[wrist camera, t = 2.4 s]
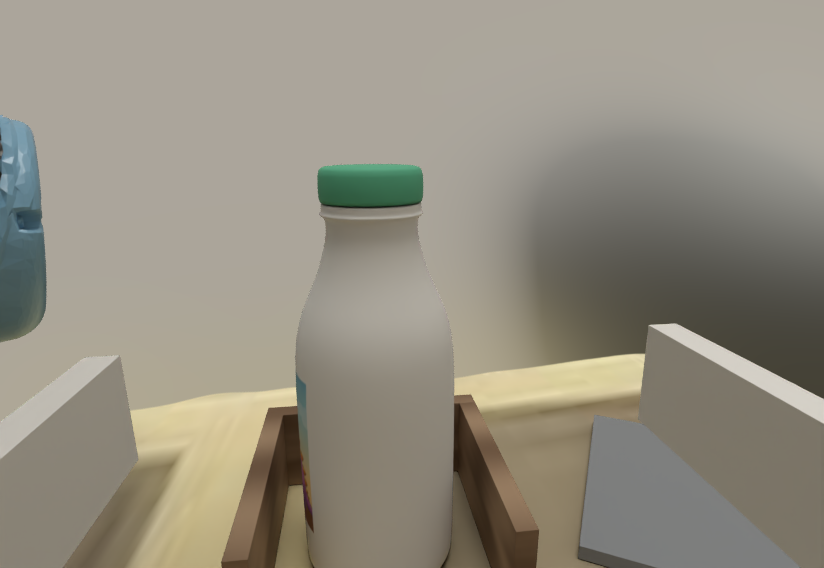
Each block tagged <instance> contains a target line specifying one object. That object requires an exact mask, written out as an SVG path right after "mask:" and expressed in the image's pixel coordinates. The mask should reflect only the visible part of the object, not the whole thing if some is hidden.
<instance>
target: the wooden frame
mask: <svg viewBox="0 0 824 568" xmlns="http://www.w3.org/2000/svg"><path fill="white" fill-rule="evenodd" d="M453 471H458V472H459V475H460V478H461V481H462V484H463V487H464V490H465V493H466V496H467V499H468V502H469V505H470V507H471V510H472V513H473V516H474V519H475V522H476V525H477V528H478V531H479V534H480V537H481V540H482V543H483V545H484V548H485V551H486V554H487V557H488V560H489V563H490V566H491V568H536V562H537V549H538V536H539V529H538V527H537V525H536V523H535V521H534V519H533V517H532V515H531V513H530V511H529V509H528V507H527V505H526V503H525V501H524V499H523V497H522V495H521V493H520V491H519V489H518V487H517V485H516V483H515V481H514V479H513V477H512V475H511V473H510V471H509V469H508V467H507V465H506V463H505V461H504V459H503V457H502V455H501V453H500V451H499V449H498V447H497V445H496V443H495V441H494V439H493V437H492V435H491V433H490V431H489V429H488V427H487V425H486V423H485V421H484V419H483V417H482V415H481V413H480V411H479V409H478V407H477V405H476V404H475V402H474V400H473V398H472V396H471V395H457V396H454V451H453ZM296 484H303V480H302V467H301V453H300V439H299V423H298V408H297V406H292V407H277V408H269V409H268V412H267V415H266V418H265V422H264V425H263V428H262V431H261V435H260V438H259V441H258V444H257V448H256V451H255V454H254V457H253V461H252V464H251V467H250V470H249V474H248V477H247V480H246V483H245V487H244V490H243V493H242V496H241V500H240V503H239V506H238V510H237V513H236V516H235V519H234V523H233V526H232V529H231V532H230V536H229V539H228V542H227V545H226V549H225V552H224V555H223V558H222V562H221V564H222V568H274V566H275V561H276V555H277V549H278V544H279V538H280V532H281V527H282V521H283V515H284V510H285V504H286V498H287V493H288V487H289V485H296Z"/></svg>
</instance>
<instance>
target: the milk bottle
mask: <svg viewBox="0 0 824 568" xmlns="http://www.w3.org/2000/svg"><path fill="white" fill-rule="evenodd" d="M318 195H319V196H318V197H319V200H320V202H321V203H322V204H321V212H320V213H319V215H320V216H321V217H323V218H324V220H325V224H326V237H325V244H324V249H323V254H322V258H321V262H320V266H319V269H318V272H317V275H316V278H315V281H314V283H313V285H312V288H311V290H310V293H309V295H308V298H307V300H306V303H305V306H304V308H303V311H302V315H301V318H300V322H299V327H298V334H297V340H296V356H295V360H296V392H297V408H298V423H299V439H300V453H301V467H302V480H303V494H304V507H305V520H306V533H307V542H308V551H309V556H310V559H311V562H312V564H313V566H314V567H315V568H440V567H441V566H442V564H443V563H444V561H445V559H446V557H447V555H448V552H449V549H450V545H451V532H452V503H453V451H454V359H453V358H454V356H453V344H452V336H451V329H450V325H449V321H448V317H447V314H446V311H445V308H444V305H443V303H442V300H441V298H440V296H439V294H438V292H437V289H436V287H435V285H434V283H433V280H432V278H431V276H430V274H429V271H428V269H427V266H426V263H425V260H424V257H423V253H422V250H421V246H420V242H419V237H418V228H417V226H418V218H419V216H421V215H422V214H423V211H422V210H421V201H422V198H423V174H422V170H421V169H420V168H419V167H417V166H413V165H397V164H358V165H357V164H356V165H333V166H325V167H322V168H320V169H319V171H318Z"/></svg>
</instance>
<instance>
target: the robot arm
mask: <svg viewBox="0 0 824 568" xmlns="http://www.w3.org/2000/svg"><path fill="white" fill-rule="evenodd" d="M2 116H3V115H0V342H4V341H8V340H13V339H17V338H19V337H22V336H24V335H26V334H27V333H29V332H31V331H32V330H33V329H34V328H36V327H37V326H38V324H39V323H40V322H41V320H42V318H43V316H44V313H45V309H46V260H45V244H44V232H43V226H42V223H41V218H42V211H41V190H40V179H39V170H38V161H37V154H36V147H35V141H34V136H33V134H32V131H31V129H30V128H29V127H28V125H26V124H25V123H23V122H20V121H16V120H10V119H9V118H5V117H2ZM638 420H640V421H641V422H642V423H643V424H644V425H645V426H646V427H647V428H648V429H649V430H650V431H652V432H653V433H654V434H655V435H656V436H657V437H658V438H659V439H660V440H661V441H663V442H664V443H665V444H666V445H667V446H668V447H669V448H670V449H671V450H672V451H674V452H675V453H676V454H677V455H678V456H679V457H680V458H681V459H682V460H683V461H685V462H686V463H687V464H688V465H689V466H690V467H691V468H692V469H693V470H694V471H696V472H697V473H698V474H699V475H700V476H701V477H702V478H703V479H704V480H705V481H707V482H708V483H709V484H710V485H711V486H712V487H713V488H714V489H715V490H716V491H718V492H719V493H720V494H721V495H722V496H723V497H724V498H725V499H726V500H727V501H729V502H730V503H731V504H732V505H733V506H734V507H735V508H736V509H737V510H738V511H740V512H741V513H742V514H743V515H744V516H745V517H746V518H747V519H748V520H749V521H750V522H752V523H753V524H754V525H755V526H756V527H757V528H758V529H759V530H760V531H761V532H763V533H764V534H765V535H766V536H767V537H768V538H769V539H770V540H771V541H772V542H774V543H775V544H776V545H777V546H778V547H779V548H780V549H781V550H782V551H783V552H785V553H786V554H787V555H788V556H789V557H790V558H791V559H792V560H793V561H794V562H796V563H797V564H798V565H799V566H800V567H801V568H824V399H822V398H820V397H818V396H816V395H814V394H812V393H810V392H808V391H806V390H804V389H802V388H801V387H799V386H797V385H795V384H793V383H791V382H789V381H787V380H785V379H783V378H781V377H779V376H777V375H775V374H773V373H771V372H769V371H767V370H765V369H764V368H762V367H759V366H757V365H756V364H754V363H752V362H749V361H748V360H746V359H744V358H742V357H740V356H738V355H736V354H734V353H732V352H730V351H728V350H726V349H724V348H722V347H721V346H719V345H717V344H714V343H713V342H711V341H709V340H707V339H705V338H703V337H701V336H699V335H697V334H695V333H693V332H691V331H689V330H687V329H685V328H683V327H681V326H680V325H677V324H661V325H649V328H648V337H647V345H646V354H645V363H644V371H643V380H642V388H641V397H640V405H639V414H638ZM137 461H138V454H137V449H136V443H135V437H134V432H133V426H132V421H131V415H130V409H129V404H128V398H127V392H126V387H125V381H124V375H123V370H122V364H121V359H120V356H102V357H85V358H83V359H82V360H81V361H79V362H78V363H77V364H75V365H74V366H73V367H71V368H70V369H69V370H68V371H66V372H65V373H64V374H62V375H61V376H60V377H58V378H57V379H56V380H54V381H53V382H52V383H51V384H49V385H48V386H47V387H45V388H44V389H42V390H41V391H40V392H39V393H37V394H36V395H35V396H33V397H32V398H31V399H29V400H28V401H27V402H25V403H24V404H23V405H21V406H20V407H19V408H17V409H16V410H15V411H14V412H12V413H11V414H10V415H8V416H7V417H6V418H4V419H3V420H2V421H0V568H63V567H64V565H65V564H66V563H67V561H68V560H69V558H70V557H71V555H72V554H73V553H74V551H75V550H76V548H77V547H78V545H79V544H80V542H81V541H82V540H83V538H84V537H85V535H86V534H87V532H88V531H89V530H90V528H91V527H92V525H93V524H94V522H95V521H96V520H97V518H98V517H99V515H100V514H101V512H102V511H103V509H104V508H105V507H106V505H107V504H108V502H109V501H110V499H111V498H112V497H113V495H114V494H115V492H116V491H117V489H118V488H119V486H120V485H121V484H122V482H123V481H124V479H125V478H126V476H127V475H128V474H129V472H130V471H131V469H132V468H133V466H134V465H135V464H136V462H137Z"/></svg>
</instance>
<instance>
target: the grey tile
mask: <svg viewBox="0 0 824 568" xmlns="http://www.w3.org/2000/svg"><path fill="white" fill-rule="evenodd" d="M578 558H579V559H582V560H585V561H589V562H592V563H596V564H599V565H602V566H606V567H609V568H801V567H800V566H799V565H798V564H797V563H796V562H794V561H793V560H792V559H791V558H790V557H789V556H788V555H787V554H786V553H785V552H783V551H782V550H781V549H780V548H779V547H778V546H777V545H776V544H775V543H774V542H772V541H771V540H770V539H769V538H768V537H767V536H766V535H765V534H764V533H763V532H761V531H760V530H759V529H758V528H757V527H756V526H755V525H754V524H753V523H752V522H750V521H749V520H748V519H747V518H746V517H745V516H744V515H743V514H742V513H741V512H740V511H738V510H737V509H736V508H735V507H734V506H733V505H732V504H731V503H730V502H729V501H727V500H726V499H725V498H724V497H723V496H722V495H721V494H720V493H719V492H718V491H716V490H715V489H714V488H713V487H712V486H711V485H710V484H709V483H708V482H707V481H705V480H704V479H703V478H702V477H701V476H700V475H699V474H698V473H697V472H696V471H694V470H693V469H692V468H691V467H690V466H689V465H688V464H687V463H686V462H685V461H683V460H682V459H681V458H680V457H679V456H678V455H677V454H676V453H675V452H674V451H672V450H671V449H670V448H669V447H668V446H667V445H666V444H665V443H664V442H663V441H661V440H660V439H659V438H658V437H657V436H656V435H655V434H654V433H653V432H652V431H650V430H649V429H648V428H647V427H646V426H645V425H644V424H641V423H636V422H630V421H625V420H620V419H614V418H609V417H604V416H598V415H594V423H593V432H592V441H591V449H590V458H589V467H588V475H587V484H586V493H585V501H584V510H583V519H582V528H581V536H580V545H579V554H578Z"/></svg>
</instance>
